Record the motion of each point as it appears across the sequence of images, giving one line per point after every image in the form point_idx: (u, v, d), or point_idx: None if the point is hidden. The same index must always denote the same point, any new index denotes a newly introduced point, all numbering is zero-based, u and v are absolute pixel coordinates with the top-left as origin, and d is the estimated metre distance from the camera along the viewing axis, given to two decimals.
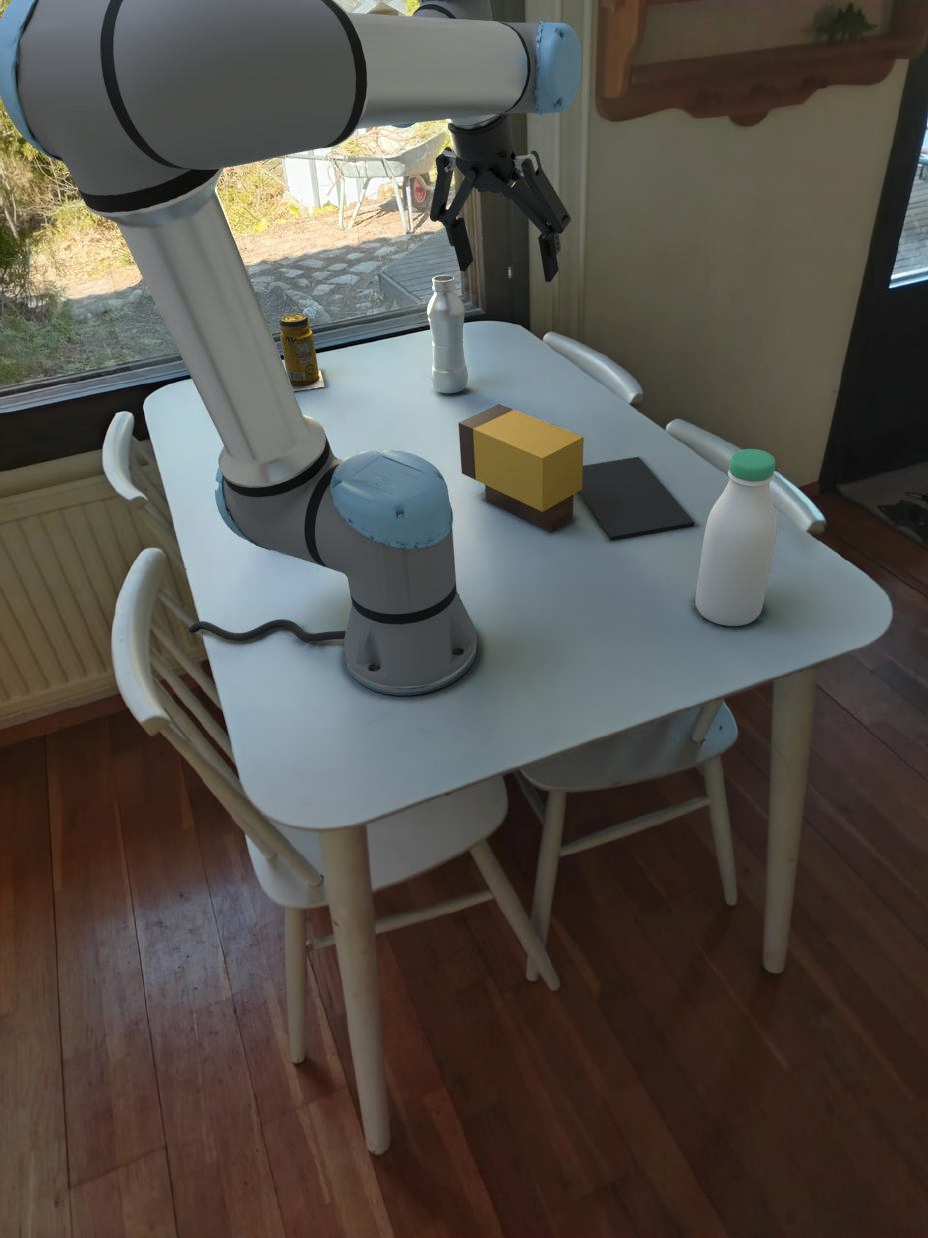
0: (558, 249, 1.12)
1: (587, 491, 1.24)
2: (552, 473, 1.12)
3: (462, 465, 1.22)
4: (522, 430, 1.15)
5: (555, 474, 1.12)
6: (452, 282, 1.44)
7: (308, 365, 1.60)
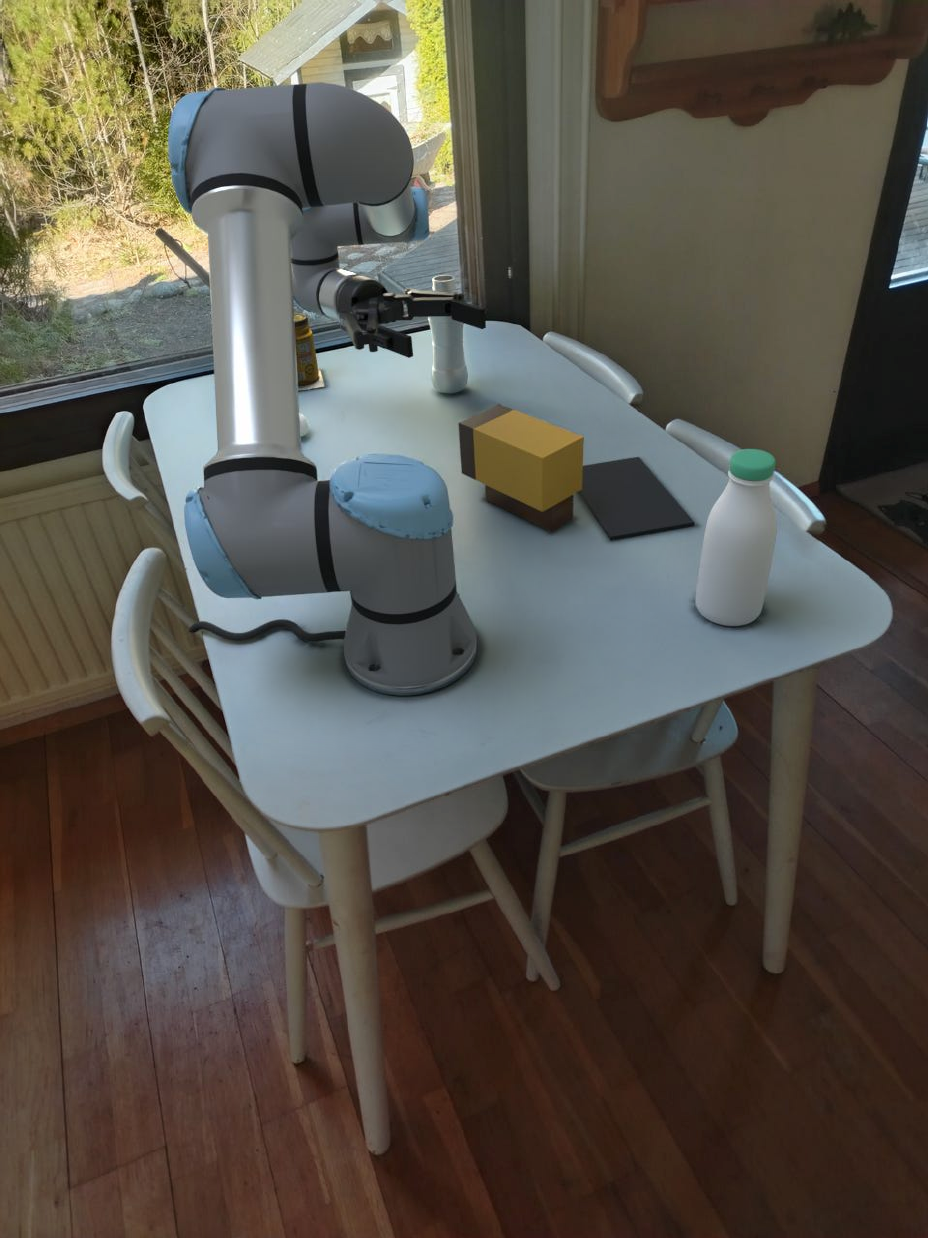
0: None
1: (587, 491, 1.24)
2: (552, 473, 1.12)
3: (462, 465, 1.22)
4: (522, 430, 1.15)
5: (555, 474, 1.12)
6: (452, 282, 1.44)
7: (308, 365, 1.60)
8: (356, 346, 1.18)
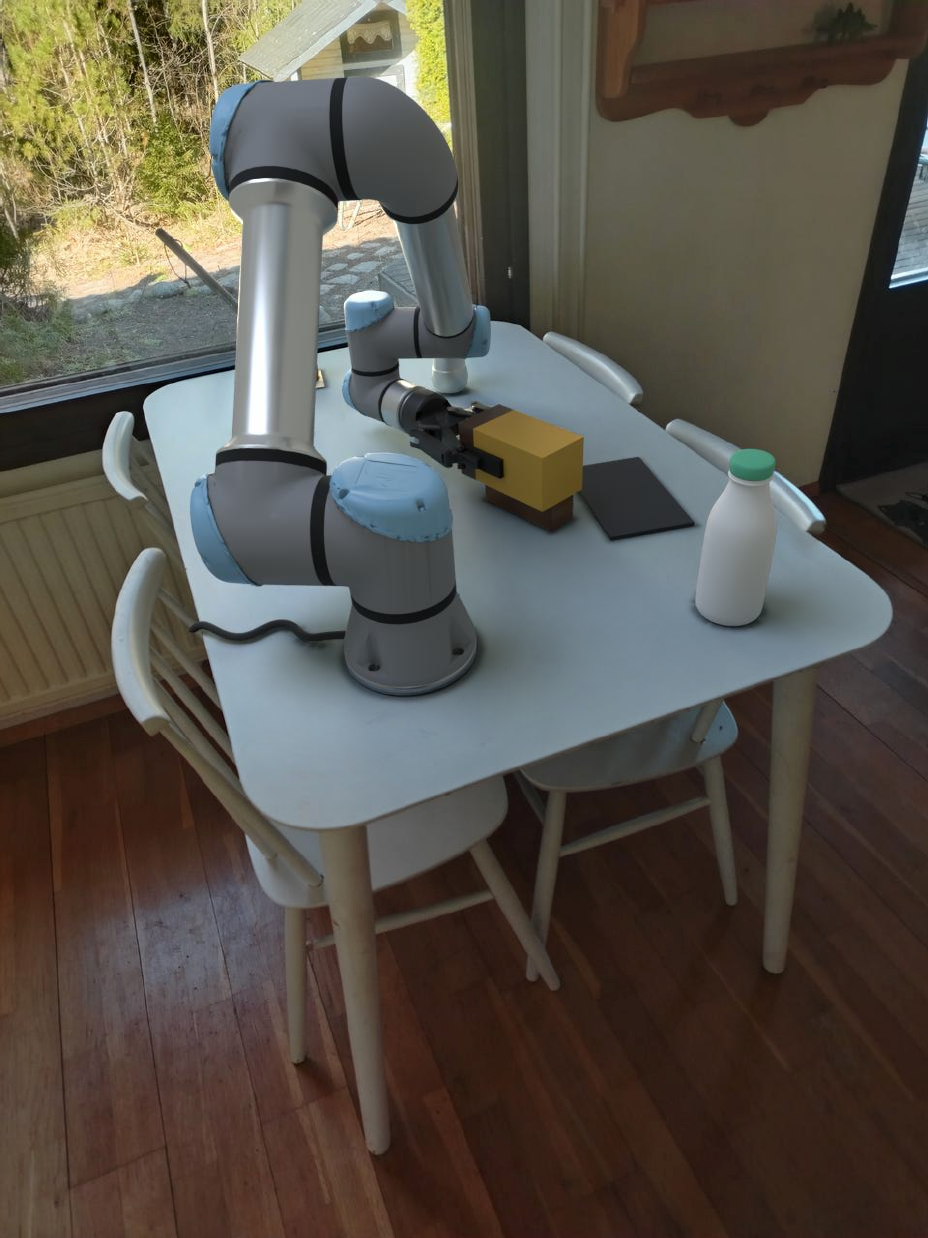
0: None
1: (587, 491, 1.24)
2: (552, 473, 1.12)
3: None
4: (522, 430, 1.15)
5: (555, 474, 1.12)
6: None
7: None
8: (446, 465, 1.19)
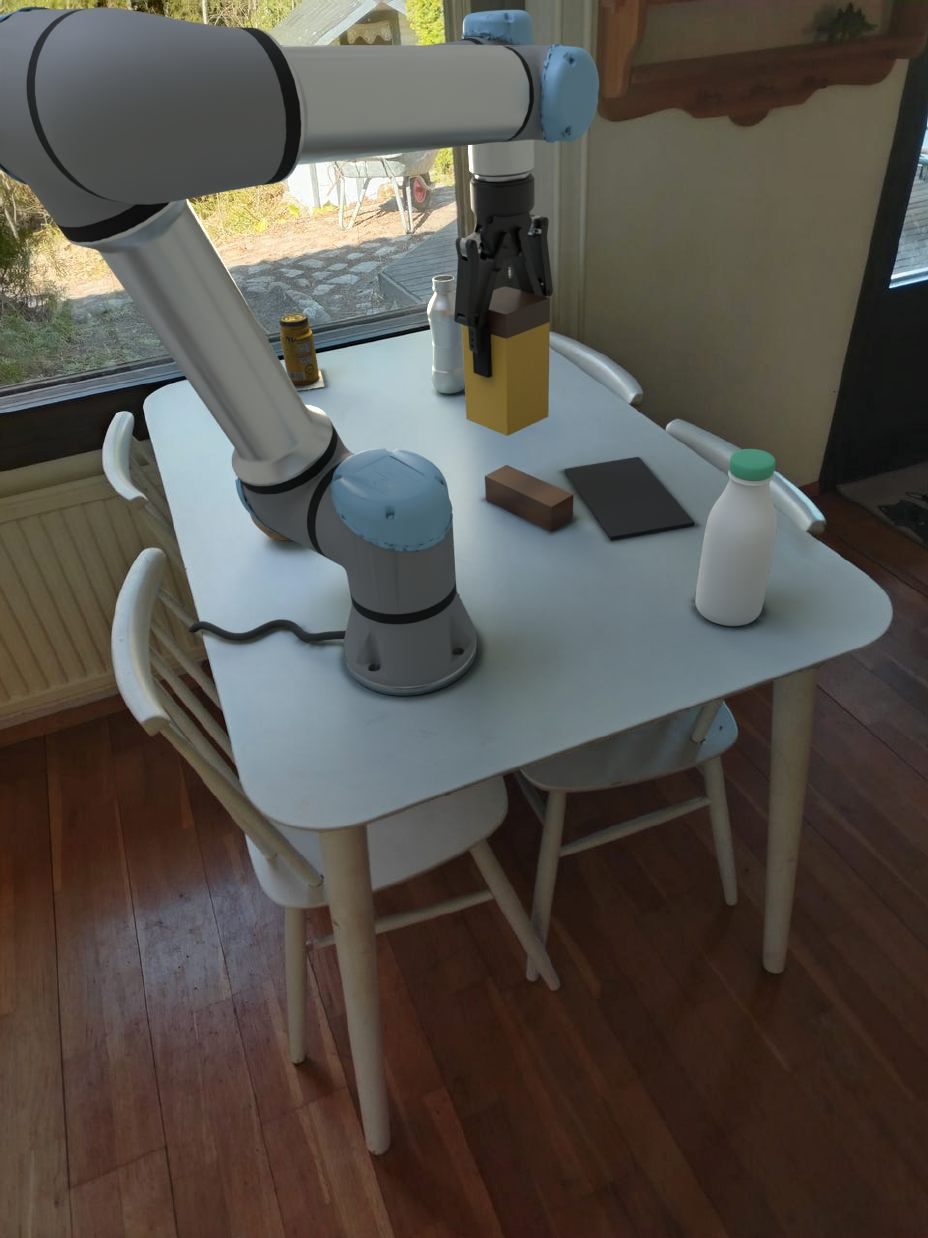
0: None
1: (587, 491, 1.24)
2: None
3: None
4: (528, 372, 1.10)
5: None
6: (452, 282, 1.44)
7: (308, 365, 1.60)
8: (456, 320, 1.04)
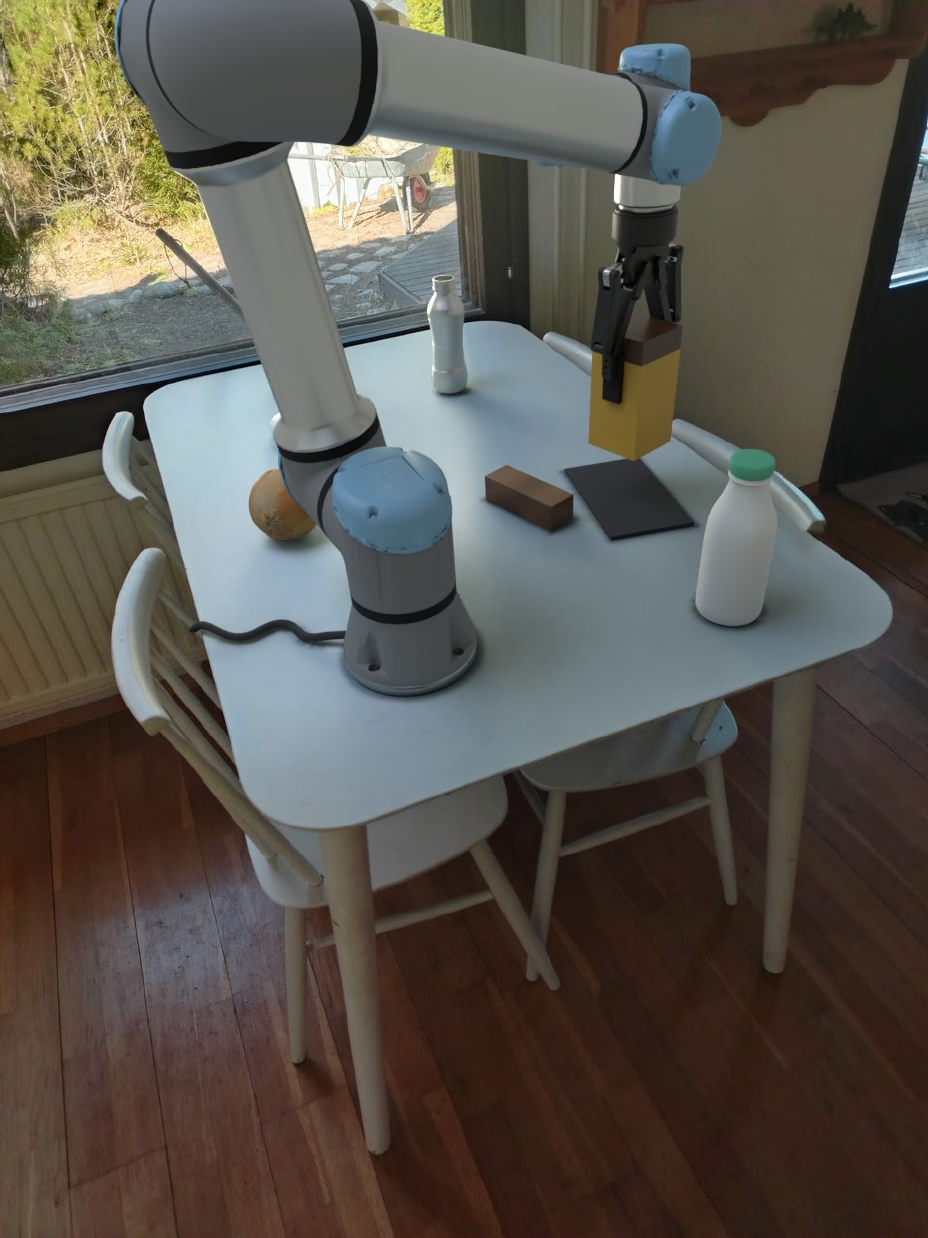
0: None
1: (587, 491, 1.24)
2: None
3: None
4: (658, 398, 1.11)
5: None
6: (452, 282, 1.44)
7: None
8: (592, 348, 1.05)
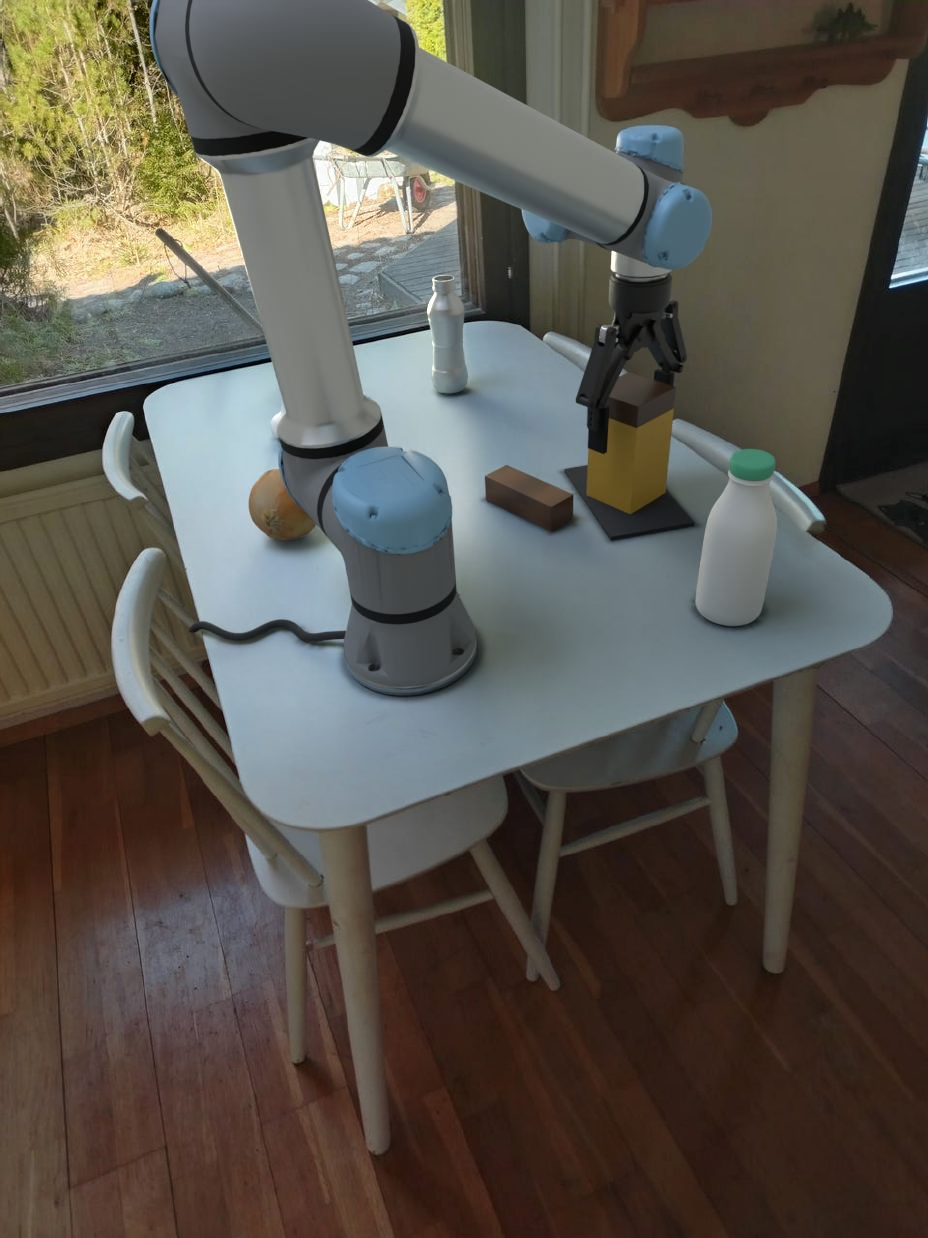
0: None
1: None
2: None
3: None
4: (652, 455, 1.16)
5: None
6: (452, 282, 1.44)
7: None
8: (577, 400, 1.07)
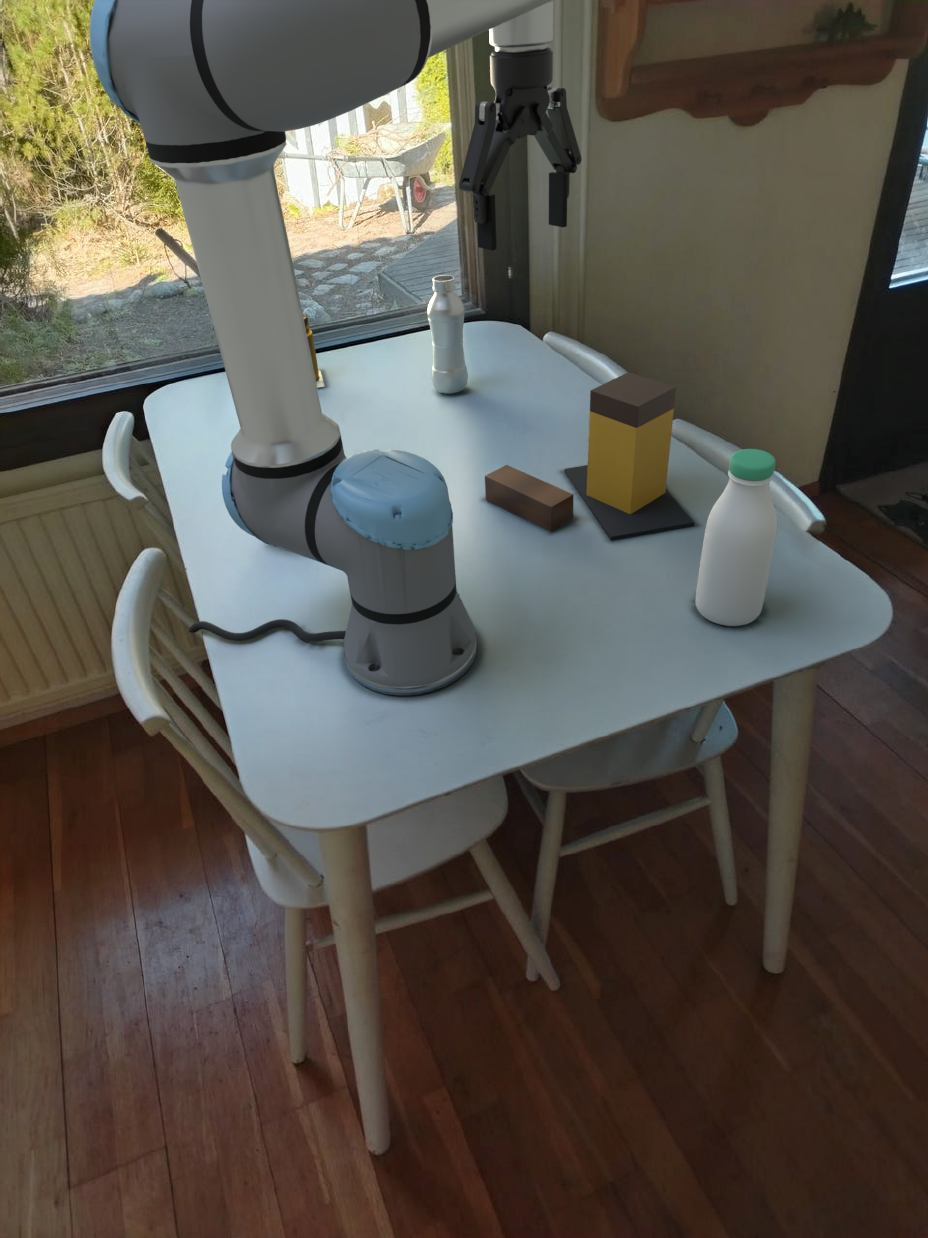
0: None
1: None
2: None
3: (598, 395, 1.13)
4: (652, 455, 1.16)
5: None
6: (452, 282, 1.44)
7: None
8: (461, 186, 1.05)
